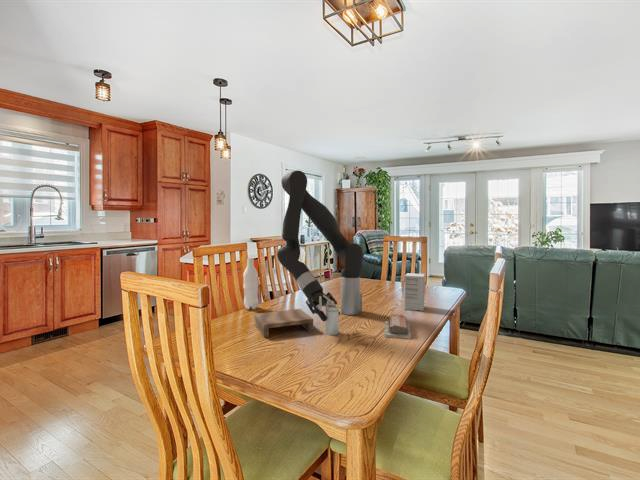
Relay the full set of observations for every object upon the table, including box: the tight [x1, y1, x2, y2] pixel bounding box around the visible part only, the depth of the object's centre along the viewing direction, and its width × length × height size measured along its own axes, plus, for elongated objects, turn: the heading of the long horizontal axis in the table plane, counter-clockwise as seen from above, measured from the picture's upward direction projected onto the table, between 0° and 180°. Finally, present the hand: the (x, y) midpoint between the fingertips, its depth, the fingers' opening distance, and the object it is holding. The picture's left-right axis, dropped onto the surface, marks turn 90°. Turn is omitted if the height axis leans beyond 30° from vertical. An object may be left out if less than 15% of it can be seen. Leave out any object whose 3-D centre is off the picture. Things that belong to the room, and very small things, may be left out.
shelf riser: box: [254, 308, 314, 339], centre depth 144 cm, size 20×16×5 cm
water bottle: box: [242, 257, 259, 310], centre depth 174 cm, size 7×7×25 cm
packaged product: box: [383, 314, 412, 340], centre depth 141 cm, size 18×5×10 cm
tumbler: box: [325, 306, 340, 336], centre depth 138 cm, size 5×5×10 cm
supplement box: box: [403, 272, 426, 312], centre depth 174 cm, size 10×9×17 cm
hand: (332, 317), depth 138 cm, fingers open, 8 cm apart
